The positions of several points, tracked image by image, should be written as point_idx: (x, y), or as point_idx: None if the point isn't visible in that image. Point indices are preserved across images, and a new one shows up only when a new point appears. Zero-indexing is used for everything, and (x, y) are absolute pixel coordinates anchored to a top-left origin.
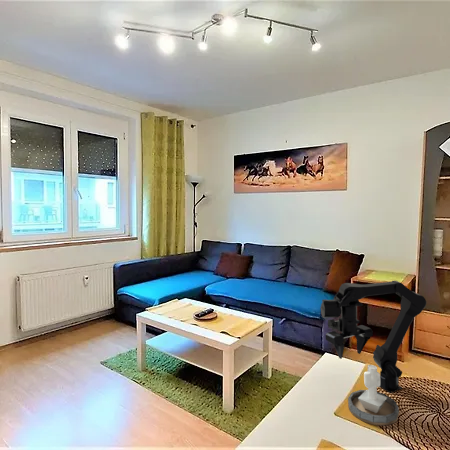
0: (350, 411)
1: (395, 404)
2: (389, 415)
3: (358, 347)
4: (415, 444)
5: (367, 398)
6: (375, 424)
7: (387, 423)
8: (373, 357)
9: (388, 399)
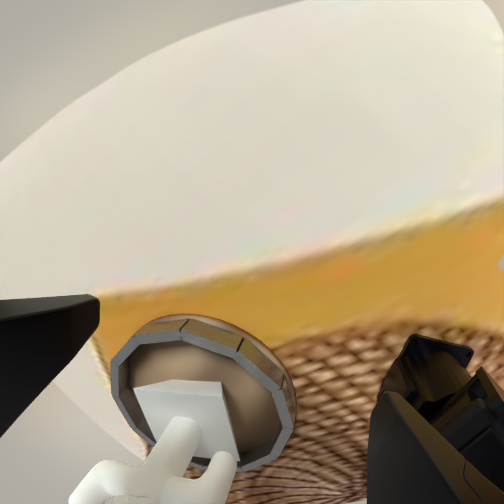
0: None
1: (252, 464)
2: None
3: (393, 462)
4: None
5: (164, 415)
6: None
7: None
8: (473, 410)
9: (275, 440)
